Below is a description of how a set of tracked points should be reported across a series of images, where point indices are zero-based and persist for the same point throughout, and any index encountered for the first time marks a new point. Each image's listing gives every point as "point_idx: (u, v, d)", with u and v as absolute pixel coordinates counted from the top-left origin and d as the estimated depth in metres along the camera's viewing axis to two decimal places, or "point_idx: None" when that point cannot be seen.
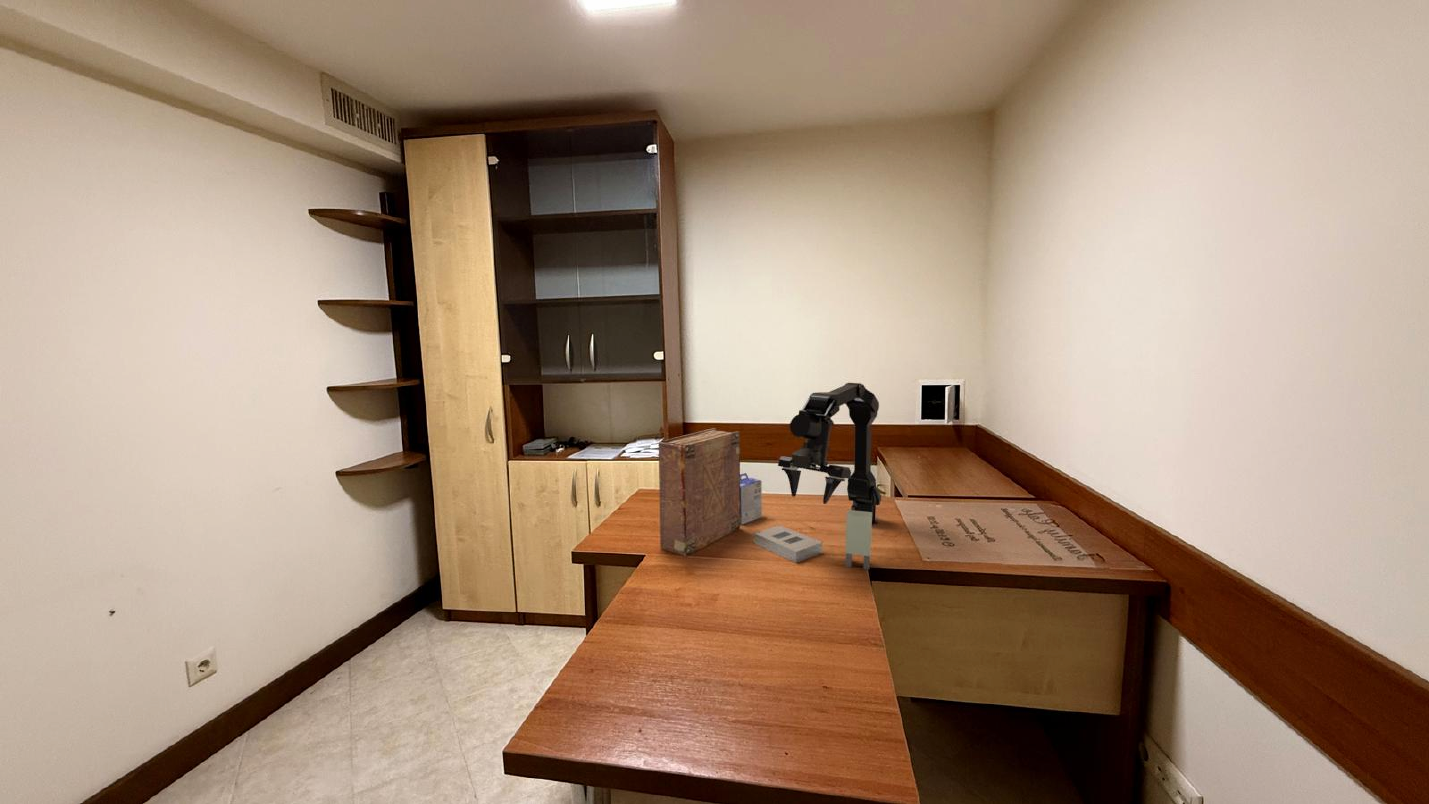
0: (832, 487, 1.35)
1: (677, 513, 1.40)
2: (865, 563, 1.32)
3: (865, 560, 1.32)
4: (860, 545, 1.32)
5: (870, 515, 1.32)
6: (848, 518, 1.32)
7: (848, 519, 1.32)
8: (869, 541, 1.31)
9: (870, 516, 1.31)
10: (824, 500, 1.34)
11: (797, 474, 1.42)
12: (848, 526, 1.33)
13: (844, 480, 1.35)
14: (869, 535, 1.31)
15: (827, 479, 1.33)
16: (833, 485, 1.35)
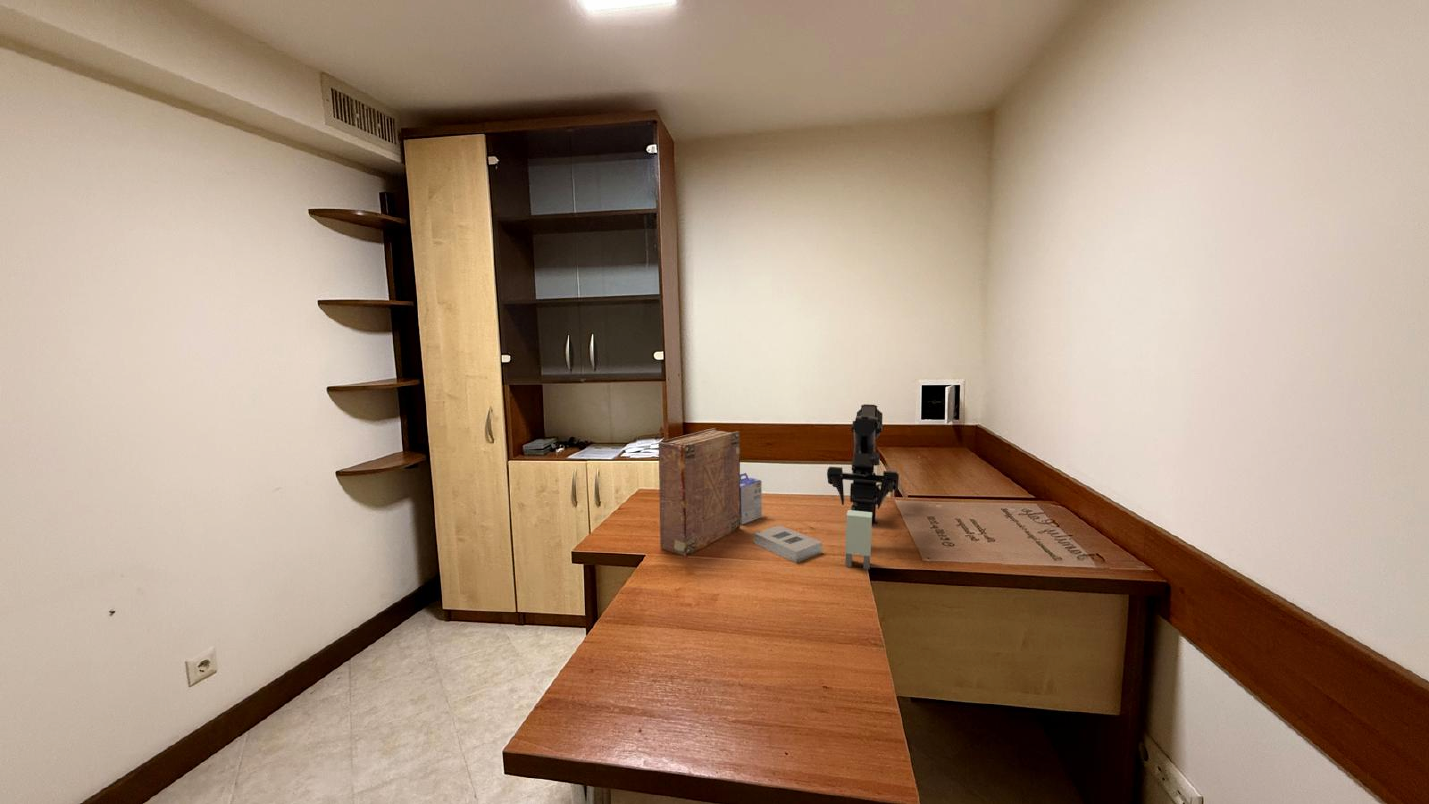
0: (883, 494, 1.42)
1: (677, 513, 1.40)
2: (865, 563, 1.32)
3: (865, 560, 1.32)
4: (860, 545, 1.32)
5: (870, 515, 1.32)
6: (848, 518, 1.32)
7: (848, 519, 1.32)
8: (869, 541, 1.31)
9: (870, 516, 1.31)
10: (879, 503, 1.40)
11: None
12: (848, 526, 1.33)
13: (892, 490, 1.44)
14: (869, 535, 1.31)
15: (883, 482, 1.41)
16: None
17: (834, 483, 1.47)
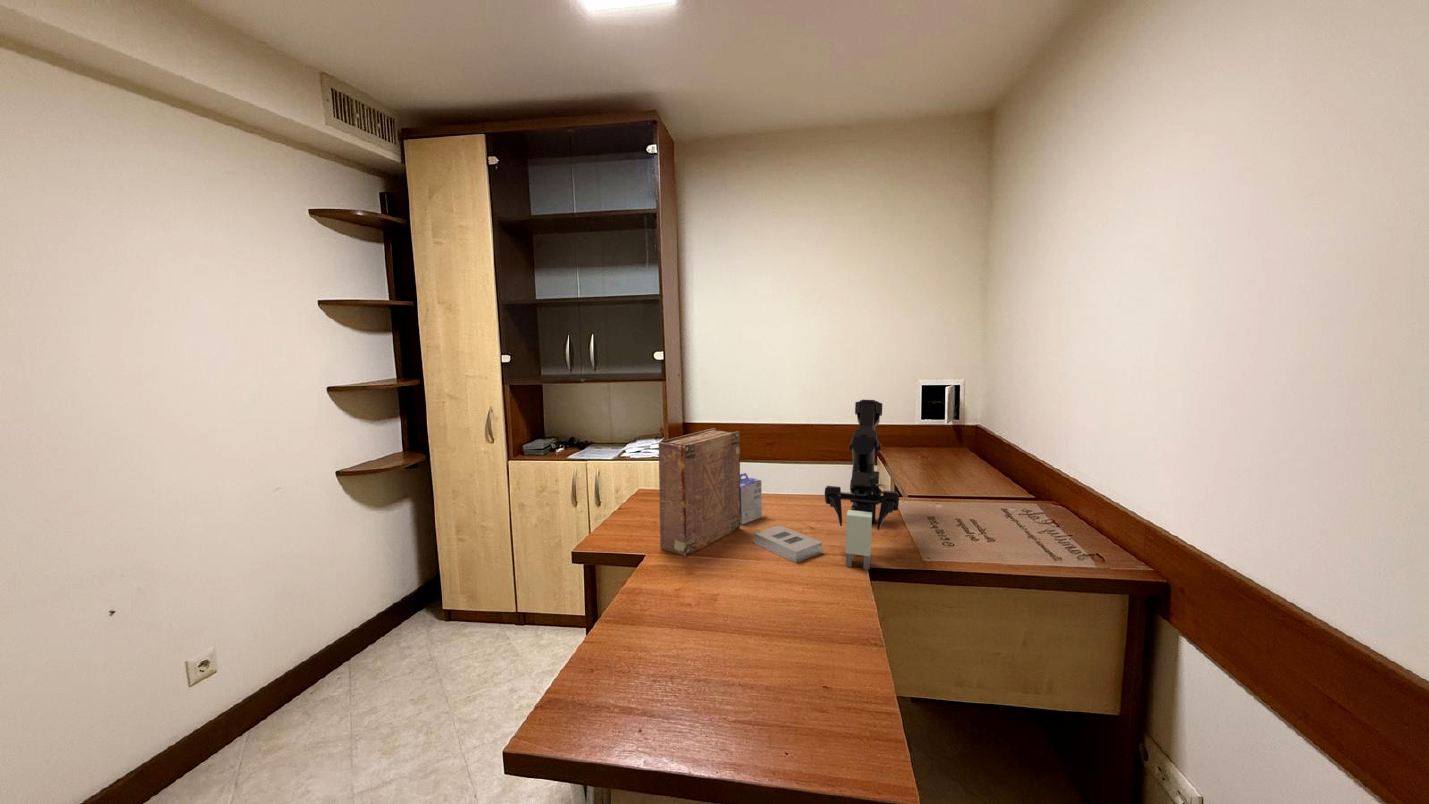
0: (883, 515, 1.37)
1: (677, 513, 1.40)
2: (865, 563, 1.32)
3: (865, 560, 1.32)
4: (860, 545, 1.32)
5: (870, 515, 1.32)
6: (848, 518, 1.32)
7: (848, 519, 1.32)
8: (869, 541, 1.31)
9: (870, 516, 1.31)
10: (878, 525, 1.34)
11: None
12: (848, 526, 1.33)
13: (892, 511, 1.38)
14: (869, 535, 1.31)
15: (883, 502, 1.35)
16: (884, 513, 1.37)
17: (832, 503, 1.42)
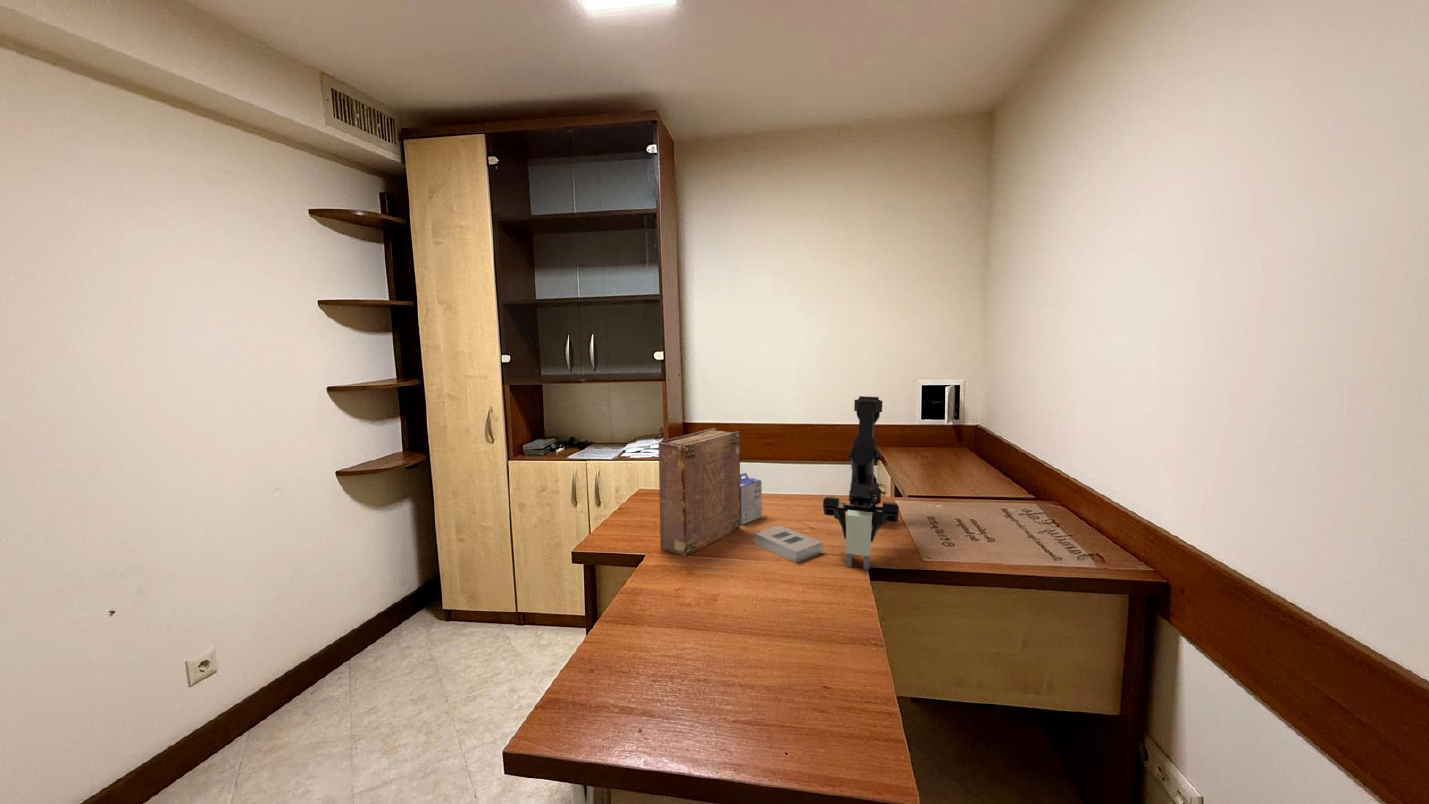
0: (877, 526, 1.34)
1: (677, 513, 1.40)
2: (865, 563, 1.32)
3: (865, 560, 1.32)
4: (860, 545, 1.32)
5: (870, 515, 1.32)
6: (848, 518, 1.32)
7: (848, 519, 1.32)
8: (869, 541, 1.31)
9: (870, 516, 1.31)
10: (872, 537, 1.32)
11: None
12: (848, 526, 1.33)
13: (886, 522, 1.36)
14: (869, 535, 1.31)
15: (877, 514, 1.33)
16: (877, 525, 1.35)
17: (836, 515, 1.39)
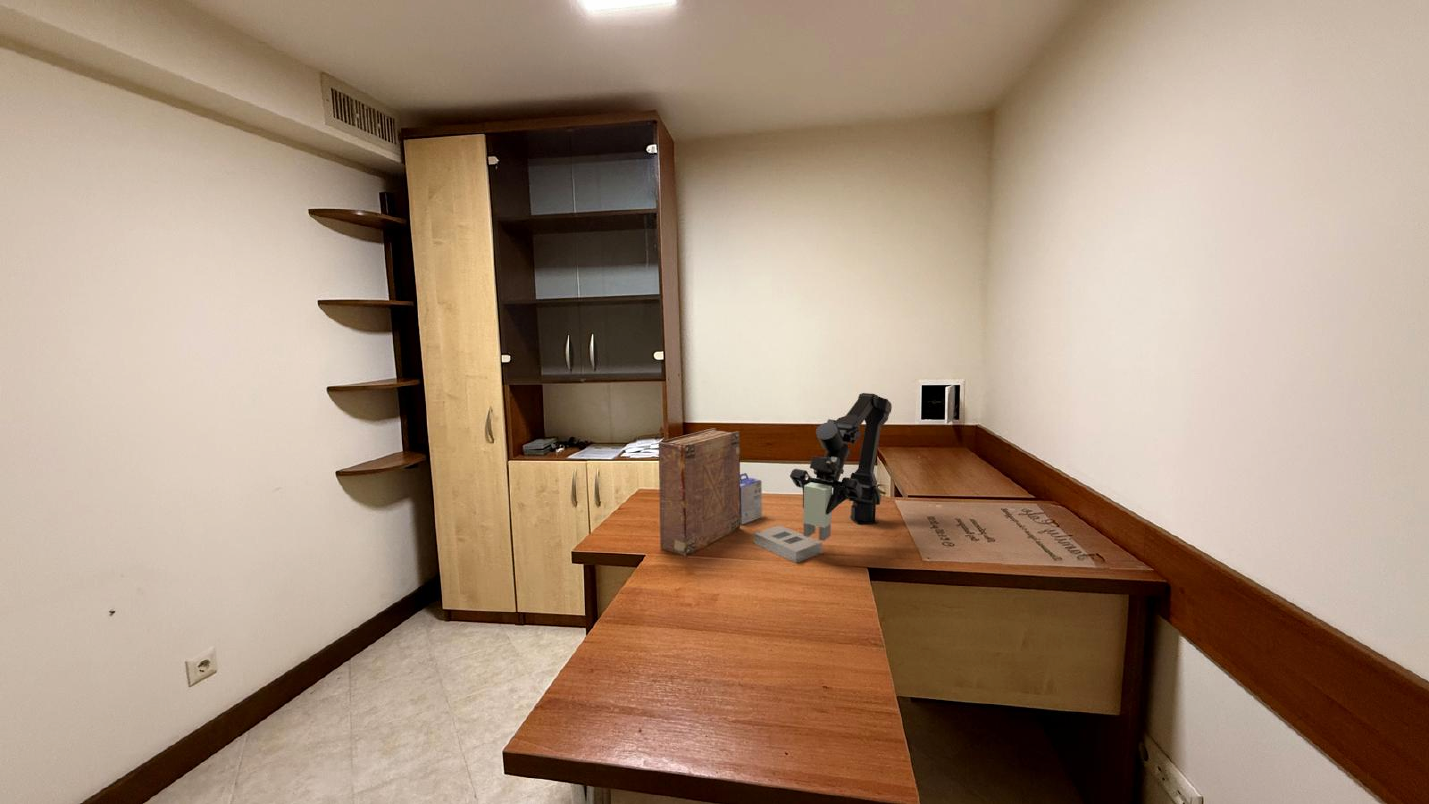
0: (836, 500, 1.36)
1: (677, 513, 1.40)
2: (820, 534, 1.36)
3: (820, 531, 1.36)
4: (816, 516, 1.36)
5: (826, 488, 1.35)
6: (805, 489, 1.37)
7: (805, 490, 1.37)
8: (823, 513, 1.34)
9: (825, 489, 1.34)
10: (827, 509, 1.35)
11: None
12: (805, 497, 1.37)
13: (849, 497, 1.37)
14: (823, 507, 1.34)
15: (835, 488, 1.35)
16: (838, 499, 1.37)
17: None
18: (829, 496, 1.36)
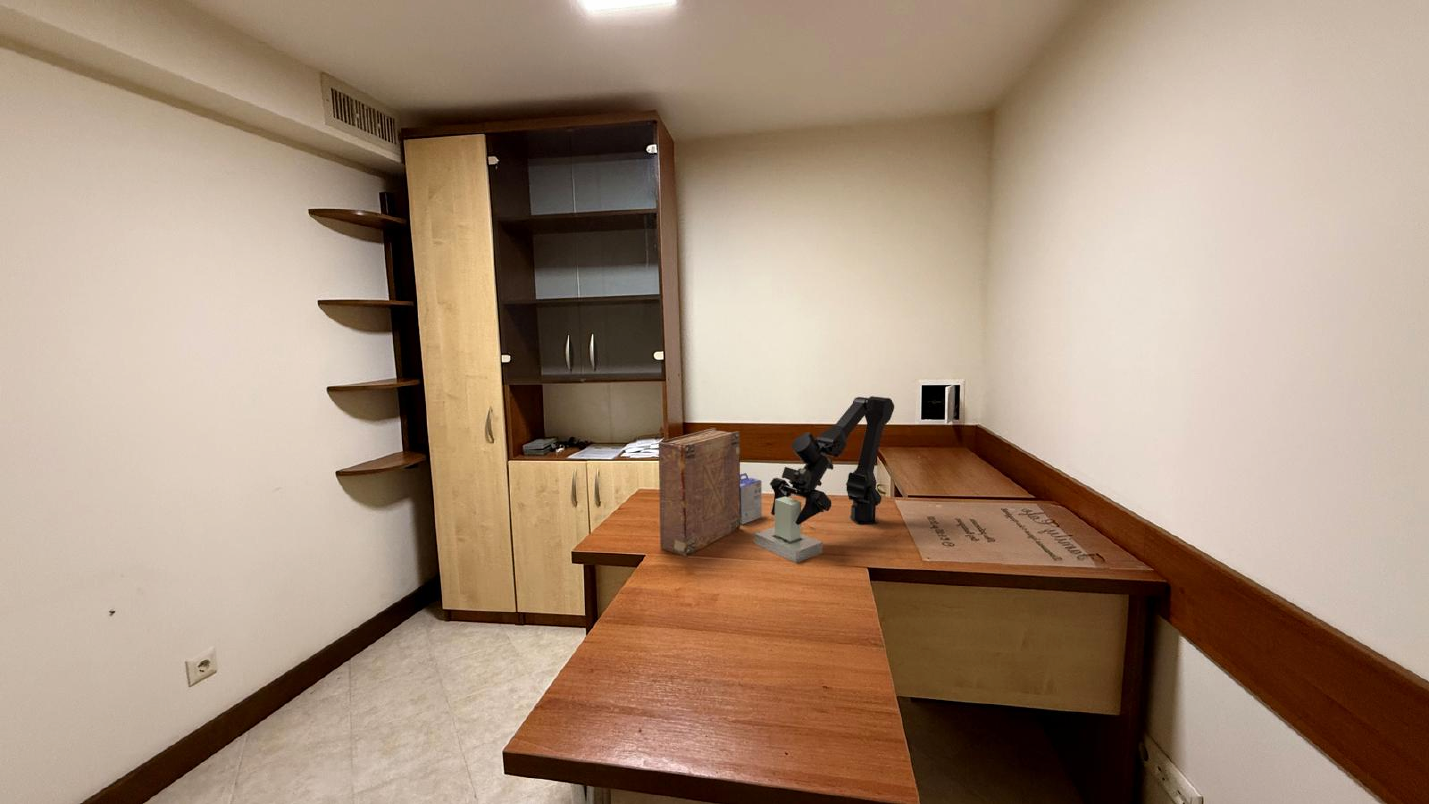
0: (809, 512, 1.41)
1: (677, 513, 1.40)
2: None
3: None
4: (784, 529, 1.43)
5: (794, 503, 1.41)
6: (776, 503, 1.44)
7: (776, 503, 1.44)
8: (789, 527, 1.41)
9: (792, 504, 1.41)
10: (797, 520, 1.40)
11: None
12: (776, 510, 1.45)
13: (822, 510, 1.40)
14: (789, 521, 1.41)
15: (807, 500, 1.40)
16: (811, 511, 1.41)
17: None
18: (797, 511, 1.42)
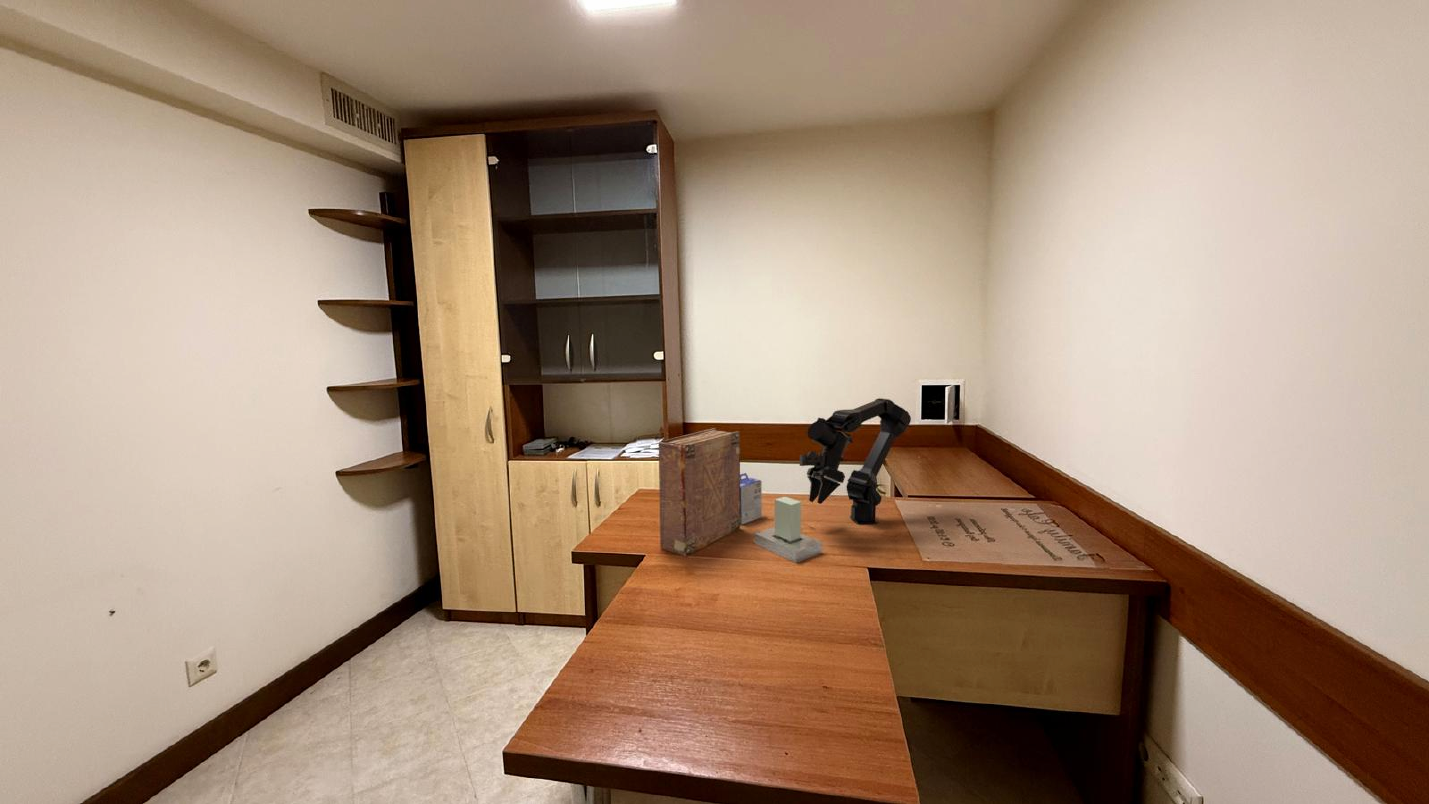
0: (827, 489, 1.47)
1: (677, 513, 1.40)
2: None
3: None
4: (784, 529, 1.43)
5: (794, 503, 1.41)
6: (776, 503, 1.44)
7: (776, 503, 1.44)
8: (789, 527, 1.41)
9: (792, 504, 1.41)
10: (818, 499, 1.47)
11: (820, 484, 1.58)
12: (776, 510, 1.45)
13: (838, 484, 1.45)
14: (789, 521, 1.41)
15: (819, 478, 1.47)
16: (829, 487, 1.47)
17: None
18: (797, 511, 1.42)
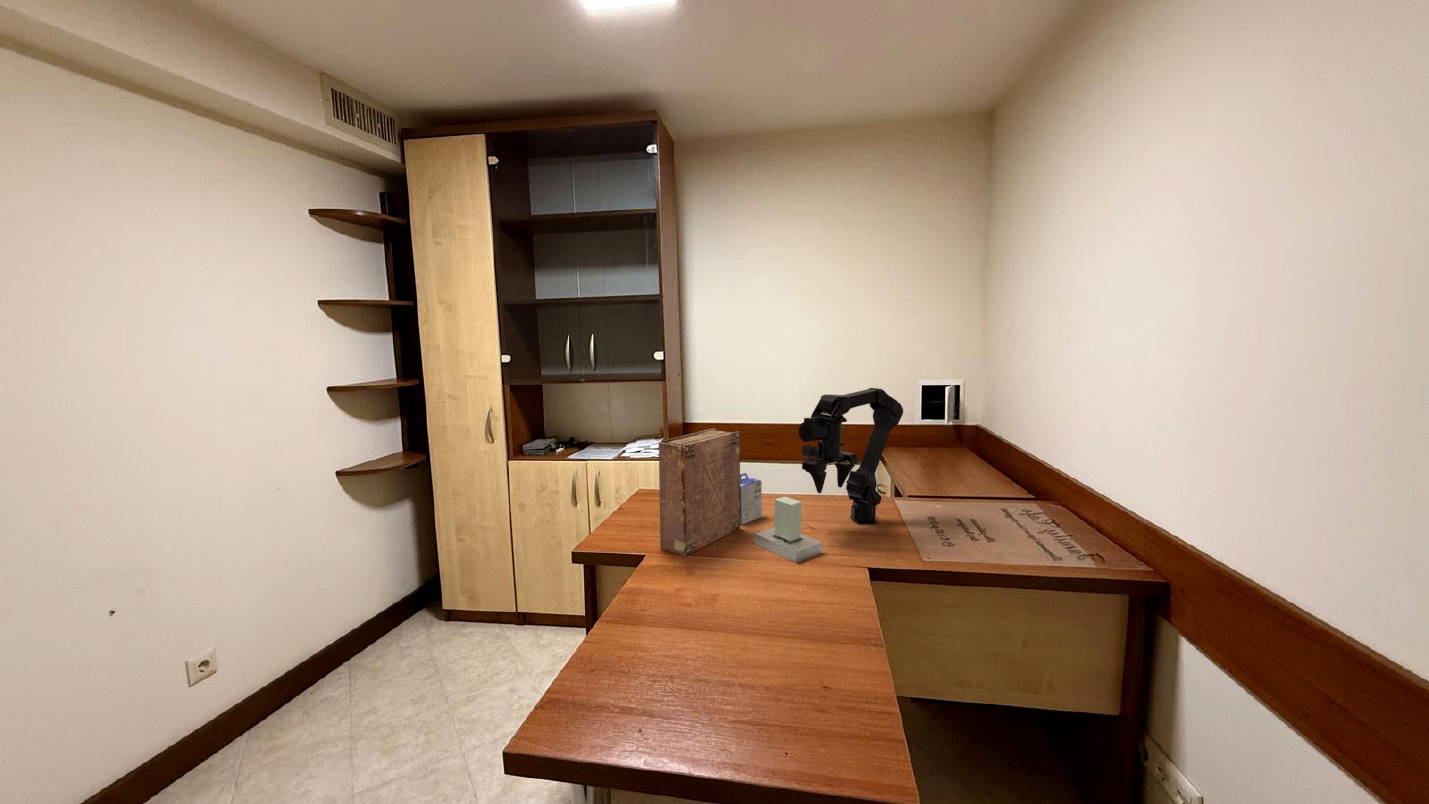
0: (818, 479, 1.52)
1: (677, 513, 1.40)
2: None
3: None
4: (784, 529, 1.43)
5: (794, 503, 1.41)
6: (776, 503, 1.44)
7: (776, 503, 1.44)
8: (789, 527, 1.41)
9: (792, 504, 1.41)
10: None
11: (844, 468, 1.58)
12: (776, 510, 1.45)
13: (817, 474, 1.49)
14: (789, 521, 1.41)
15: None
16: (818, 477, 1.51)
17: None
18: (797, 511, 1.42)
